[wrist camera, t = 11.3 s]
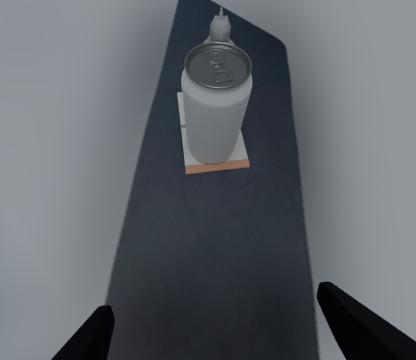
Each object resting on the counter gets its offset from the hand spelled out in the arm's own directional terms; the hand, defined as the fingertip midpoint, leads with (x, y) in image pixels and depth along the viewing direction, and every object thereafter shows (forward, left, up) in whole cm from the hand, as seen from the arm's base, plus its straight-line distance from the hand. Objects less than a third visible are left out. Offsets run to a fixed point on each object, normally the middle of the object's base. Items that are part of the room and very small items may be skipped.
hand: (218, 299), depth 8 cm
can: (+16, -3, -14) cm, 21 cm away
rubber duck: (+32, -6, -14) cm, 36 cm away
